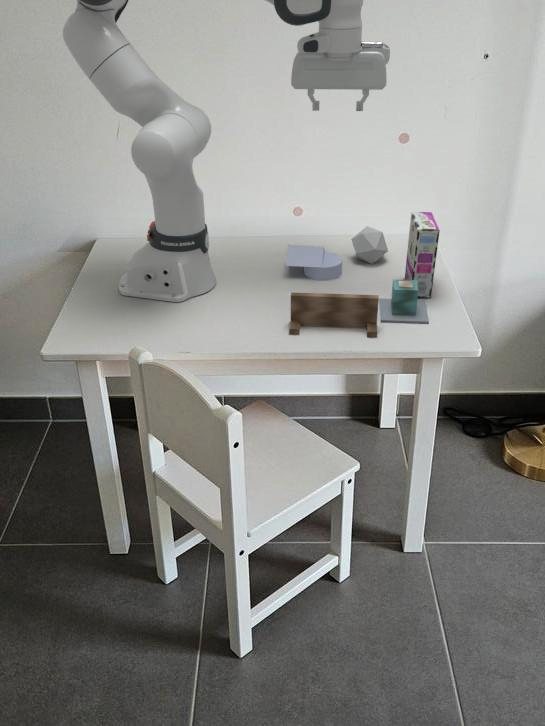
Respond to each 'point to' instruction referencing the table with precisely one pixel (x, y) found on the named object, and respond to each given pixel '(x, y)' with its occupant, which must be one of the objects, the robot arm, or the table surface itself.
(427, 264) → the candy bar box
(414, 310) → the teal block
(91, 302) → the table surface
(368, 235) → the die
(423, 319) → the grey mat
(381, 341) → the table surface
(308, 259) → the wedge on round base
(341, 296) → the walnut board
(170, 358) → the table surface
